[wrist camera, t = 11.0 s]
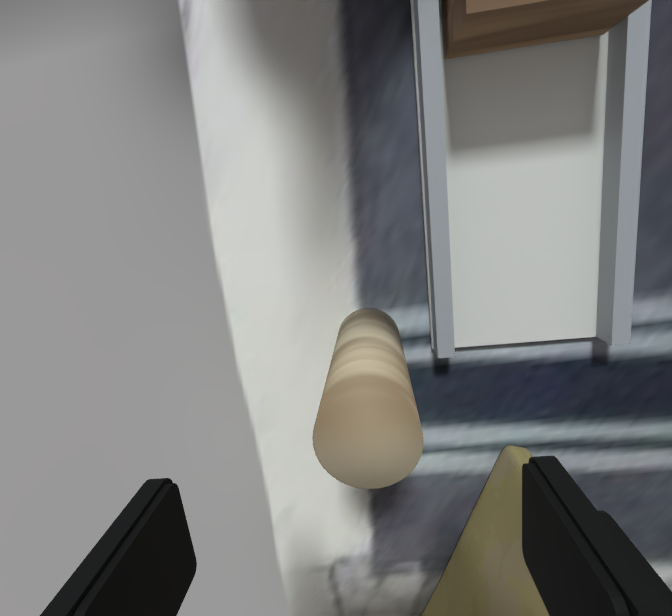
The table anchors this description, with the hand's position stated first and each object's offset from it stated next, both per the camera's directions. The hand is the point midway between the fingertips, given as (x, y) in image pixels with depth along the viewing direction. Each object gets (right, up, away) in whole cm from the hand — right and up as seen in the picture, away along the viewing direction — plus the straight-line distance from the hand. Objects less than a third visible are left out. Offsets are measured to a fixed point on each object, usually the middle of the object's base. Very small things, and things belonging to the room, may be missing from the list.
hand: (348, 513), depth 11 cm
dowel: (+2, +4, +15) cm, 16 cm away
